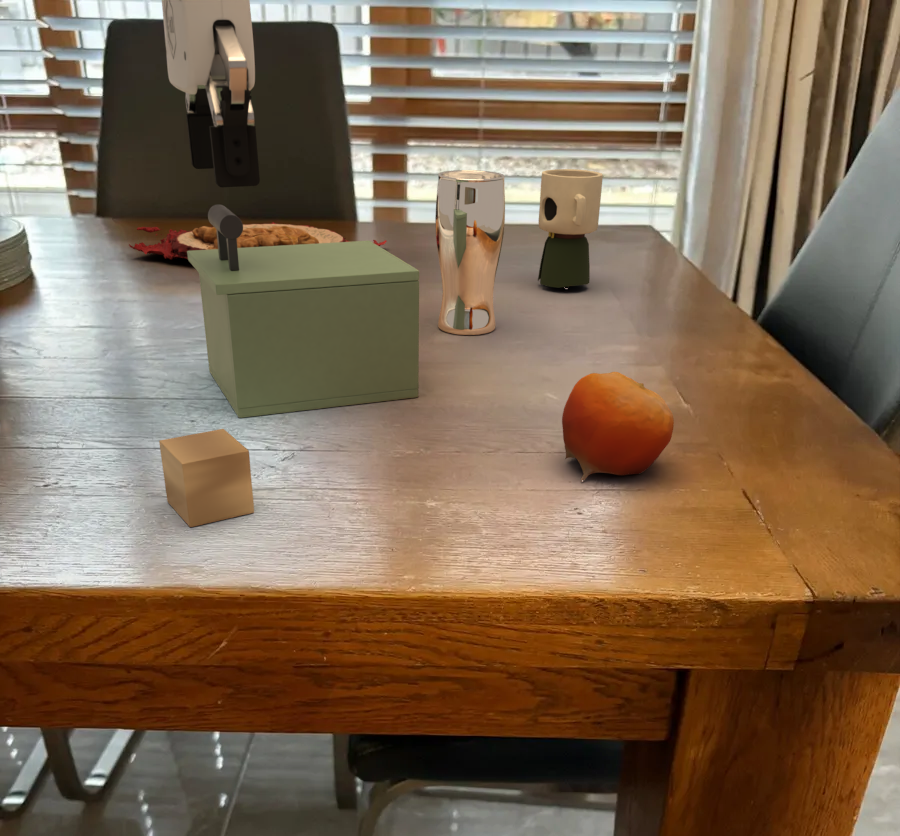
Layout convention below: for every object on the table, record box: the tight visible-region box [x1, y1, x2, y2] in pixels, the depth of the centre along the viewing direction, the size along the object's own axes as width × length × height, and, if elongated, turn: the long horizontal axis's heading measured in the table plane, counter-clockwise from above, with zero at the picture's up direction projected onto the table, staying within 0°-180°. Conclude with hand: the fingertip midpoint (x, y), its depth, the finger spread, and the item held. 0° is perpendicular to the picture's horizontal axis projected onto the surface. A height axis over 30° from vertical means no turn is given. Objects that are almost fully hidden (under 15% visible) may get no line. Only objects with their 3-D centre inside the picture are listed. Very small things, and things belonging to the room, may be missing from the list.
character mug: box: [537, 168, 604, 289], centre depth 117 cm, size 11×7×13 cm, turn 8°
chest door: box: [187, 204, 420, 295], centre depth 80 cm, size 16×13×5 cm
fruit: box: [561, 371, 675, 481], centre depth 71 cm, size 8×8×8 cm
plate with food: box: [128, 221, 388, 261], centre depth 131 cm, size 24×26×4 cm
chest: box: [198, 273, 420, 419], centre depth 84 cm, size 16×13×10 cm
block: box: [158, 428, 255, 528], centre depth 64 cm, size 4×4×4 cm
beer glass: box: [434, 169, 506, 336], centre depth 100 cm, size 7×7×15 cm
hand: (224, 176), depth 76 cm, fingers open, 9 cm apart
